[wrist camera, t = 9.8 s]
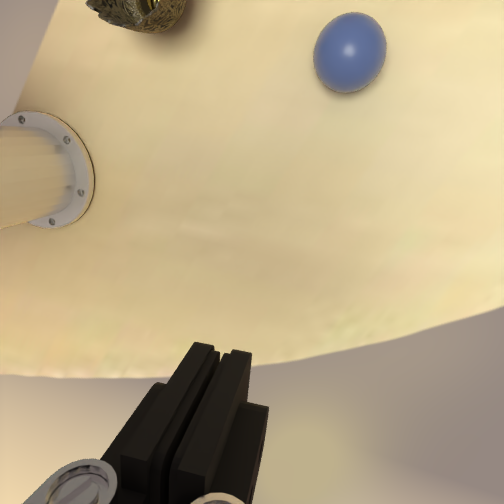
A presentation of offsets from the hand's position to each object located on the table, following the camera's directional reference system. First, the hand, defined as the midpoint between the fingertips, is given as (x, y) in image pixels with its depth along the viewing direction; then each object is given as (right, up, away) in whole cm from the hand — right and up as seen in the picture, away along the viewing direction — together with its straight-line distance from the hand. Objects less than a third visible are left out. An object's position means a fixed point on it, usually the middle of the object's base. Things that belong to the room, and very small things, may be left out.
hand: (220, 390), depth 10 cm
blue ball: (+9, +19, +18) cm, 28 cm away
